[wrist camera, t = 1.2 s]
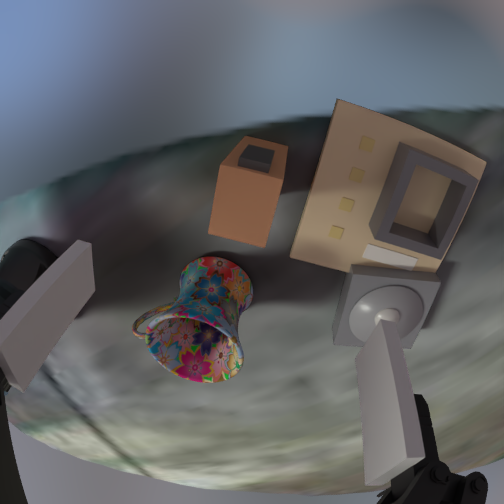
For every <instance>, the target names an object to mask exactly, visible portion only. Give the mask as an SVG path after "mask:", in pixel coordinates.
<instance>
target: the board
mask: <svg viewBox="0 0 504 504" xmlns="http://www.w3.org/2000/svg"><path fill="white" fill-rule="evenodd" d="M486 164H487V162H485V161H484V160H482V159H480V158H478V157H477V156H475V155H473V154H471V153H469V152H467V151H465V150H463V149H461V148H459V147H457V146H455V145H453V144H451V143H449V142H447V141H445V140H443V139H440V138H438V137H436V136H434V135H432V134H429V133H427V132H425V131H423V130H420V129H418V128H416V127H413V126H411V125H409V124H406V123H404V122H401V121H399V120H396V119H394V118H391V117H389V116H386V115H383V114H381V113H378V112H375V111H372V110H370V109H367V108H364V107H361V106H358V105H355V104H352V103H349V102H346V101H343V100H340V99H337V100H336V103H335V107H334V110H333V114H332V117H331V121H330V124H329V128H328V131H327V134H326V138H325V141H324V145H323V148H322V151H321V155H320V158H319V161H318V165H317V168H316V171H315V175H314V178H313V181H312V184H311V188H310V191H309V194H308V197H307V201H306V204H305V207H304V210H303V213H302V216H301V220H300V223H299V226H298V229H297V232H296V235H295V238H294V241H293V244H292V247H291V251H290V258H294V259H298V260H302V261H306V262H309V263H313V264H317V265H321V266H325V267H329V268H332V269H336V270H340V271H344V272H348V273H349V270H350V266H351V264H355V265H365V266H374V267H384V268H394V269H403V270H409V271H412V270H413V271H423V272H433V273H436V271H437V269H438V267H439V265H440V264H441V262H442V260H443V258H444V256H445V254H446V252H447V250H448V249H449V247H450V245H451V243H452V241H453V239H454V237H455V235H456V233H457V231H458V229H459V227H460V224H461V222H462V220H463V218H464V216H465V214H466V212H467V209H468V207H469V205H470V203H471V200H472V198H473V196H474V193H475V191H476V189H477V186H478V184H479V181H480V179H481V176H482V174H483V171H484V169H485V166H486Z"/></svg>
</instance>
